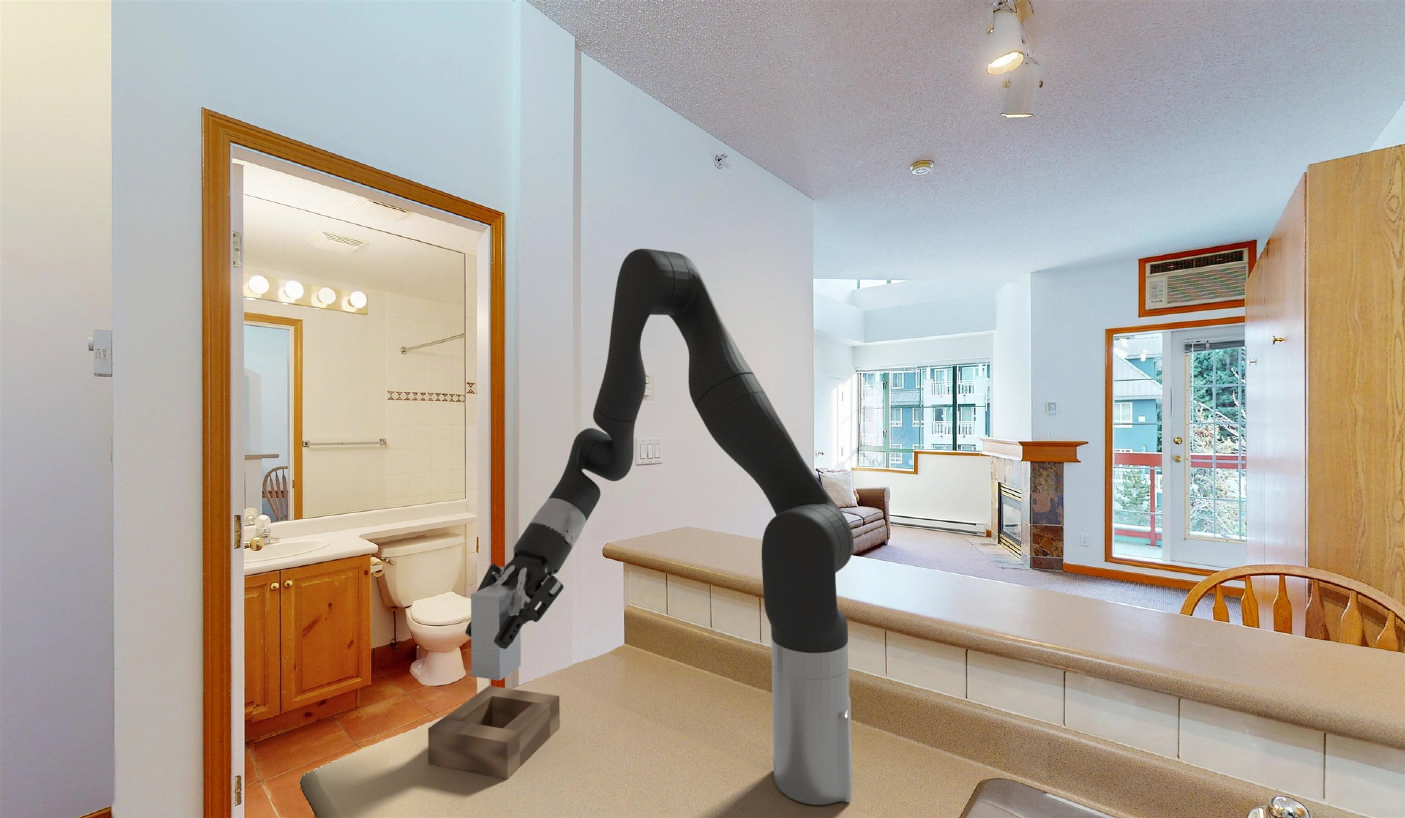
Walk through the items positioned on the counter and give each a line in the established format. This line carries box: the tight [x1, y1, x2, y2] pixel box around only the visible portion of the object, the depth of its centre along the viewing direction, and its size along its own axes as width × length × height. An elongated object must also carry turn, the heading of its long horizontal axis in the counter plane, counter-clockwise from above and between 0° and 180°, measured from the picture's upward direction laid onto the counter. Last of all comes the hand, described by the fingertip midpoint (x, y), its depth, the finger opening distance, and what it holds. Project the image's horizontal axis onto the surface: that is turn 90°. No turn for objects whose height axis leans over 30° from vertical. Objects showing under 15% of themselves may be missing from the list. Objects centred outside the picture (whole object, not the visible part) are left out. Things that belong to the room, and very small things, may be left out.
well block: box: [427, 685, 561, 780], centre depth 77 cm, size 12×12×4 cm
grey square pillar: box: [470, 584, 522, 681], centre depth 77 cm, size 4×4×11 cm
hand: (485, 640), depth 75 cm, fingers closed on grey square pillar, 5 cm apart
